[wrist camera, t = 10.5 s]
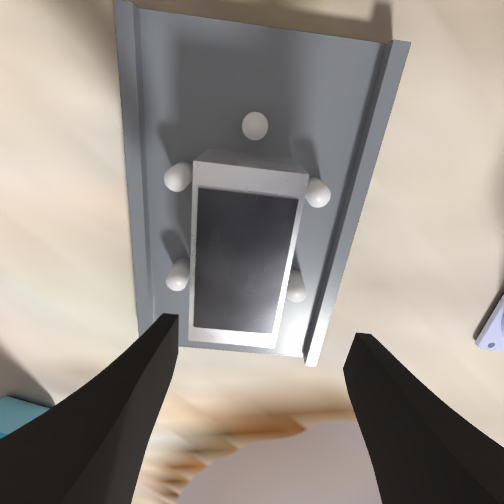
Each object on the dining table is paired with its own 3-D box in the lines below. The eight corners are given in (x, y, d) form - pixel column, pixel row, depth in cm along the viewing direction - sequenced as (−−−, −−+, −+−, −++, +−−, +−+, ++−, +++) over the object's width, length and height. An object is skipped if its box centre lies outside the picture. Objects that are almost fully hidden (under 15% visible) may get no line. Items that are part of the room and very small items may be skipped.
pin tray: (393, 50, 14) (426, 35, 12) (311, 348, 23) (319, 379, 20) (129, 12, 14) (99, -13, 11) (148, 334, 22) (133, 364, 20)
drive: (292, 157, 16) (309, 175, 11) (269, 293, 19) (274, 349, 15) (210, 146, 15) (192, 161, 11) (203, 287, 19) (187, 341, 15)
